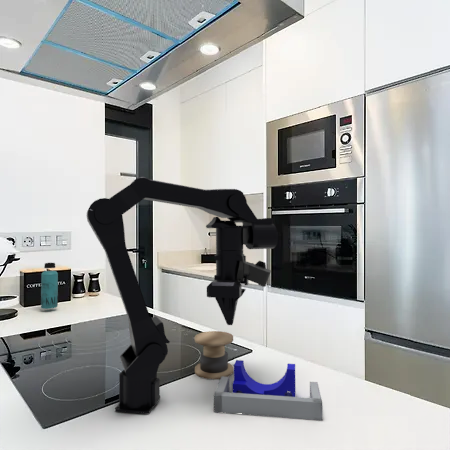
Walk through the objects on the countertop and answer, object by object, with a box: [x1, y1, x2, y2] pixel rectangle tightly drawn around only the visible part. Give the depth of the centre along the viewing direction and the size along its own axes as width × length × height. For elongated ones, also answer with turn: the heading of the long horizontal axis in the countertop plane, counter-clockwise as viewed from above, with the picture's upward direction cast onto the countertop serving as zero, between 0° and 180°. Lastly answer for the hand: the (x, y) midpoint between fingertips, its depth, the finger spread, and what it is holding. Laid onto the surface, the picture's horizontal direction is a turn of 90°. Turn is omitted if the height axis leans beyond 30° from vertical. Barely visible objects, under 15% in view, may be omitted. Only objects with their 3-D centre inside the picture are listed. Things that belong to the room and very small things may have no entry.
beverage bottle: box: [40, 262, 59, 310], centre depth 148 cm, size 6×7×20 cm
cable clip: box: [232, 359, 296, 397], centre depth 70 cm, size 12×4×6 cm, turn 78°
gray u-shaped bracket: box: [213, 376, 324, 421], centre depth 67 cm, size 19×8×3 cm, turn 81°
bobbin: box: [194, 330, 234, 380], centre depth 83 cm, size 9×9×8 cm
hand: (230, 324), depth 74 cm, fingers closed
